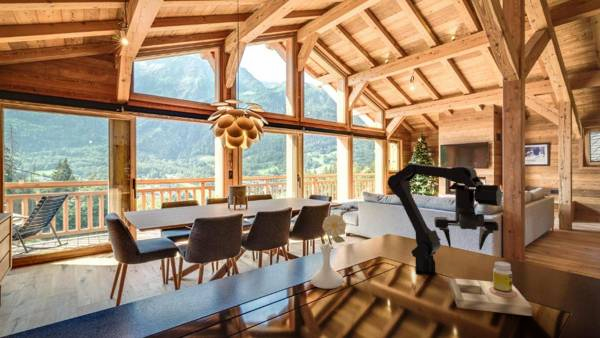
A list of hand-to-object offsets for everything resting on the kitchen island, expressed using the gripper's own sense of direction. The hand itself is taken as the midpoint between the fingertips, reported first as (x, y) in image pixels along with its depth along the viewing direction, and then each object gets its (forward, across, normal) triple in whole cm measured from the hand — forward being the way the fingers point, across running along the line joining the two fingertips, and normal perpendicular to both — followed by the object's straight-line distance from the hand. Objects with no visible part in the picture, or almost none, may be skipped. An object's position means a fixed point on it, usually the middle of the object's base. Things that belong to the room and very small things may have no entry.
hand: (464, 248), depth 103 cm
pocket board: (+12, +4, -12) cm, 17 cm away
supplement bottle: (+9, +8, -12) cm, 17 cm away
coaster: (+9, +8, -12) cm, 17 cm away
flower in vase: (+13, -44, -15) cm, 48 cm away
